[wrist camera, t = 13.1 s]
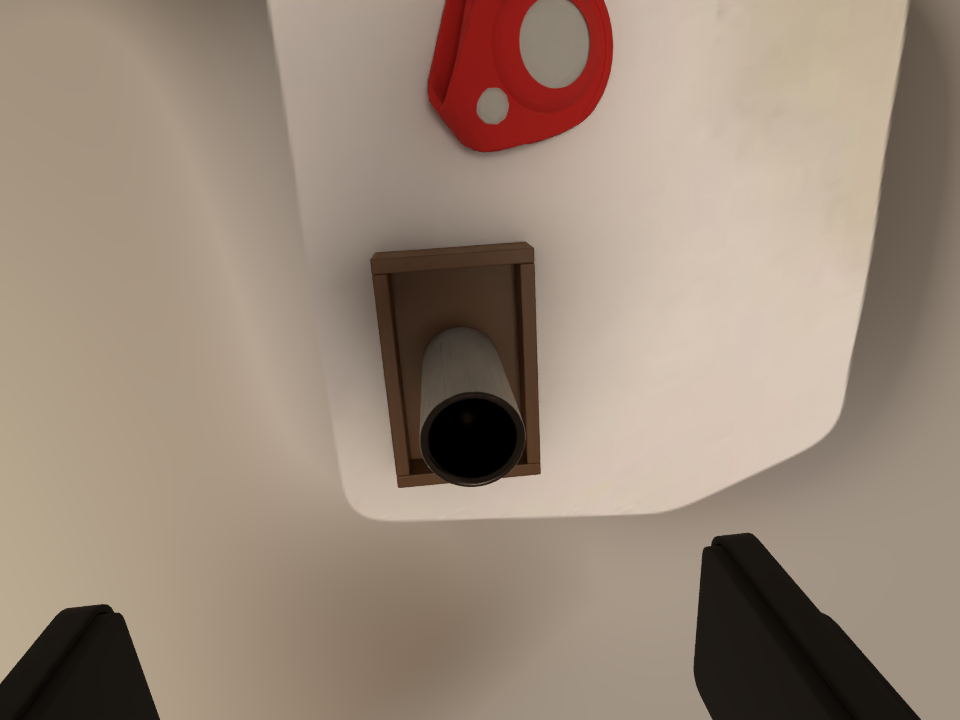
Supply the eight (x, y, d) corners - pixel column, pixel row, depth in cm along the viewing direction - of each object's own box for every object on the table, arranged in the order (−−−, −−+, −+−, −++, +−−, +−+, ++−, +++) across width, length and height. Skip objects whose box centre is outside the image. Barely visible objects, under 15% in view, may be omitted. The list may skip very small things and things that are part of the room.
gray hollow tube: (410, 382, 34) (403, 469, 24) (439, 314, 33) (443, 376, 23) (480, 408, 35) (500, 501, 25) (510, 342, 34) (543, 413, 24)
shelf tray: (374, 252, 32) (369, 259, 30) (526, 241, 33) (534, 247, 30) (400, 466, 36) (398, 488, 34) (533, 454, 37) (540, 474, 34)
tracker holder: (659, 53, 29) (529, 196, 28) (606, 66, 33) (491, 192, 32) (517, -211, 23) (347, -36, 22) (473, -157, 27) (327, -6, 26)
